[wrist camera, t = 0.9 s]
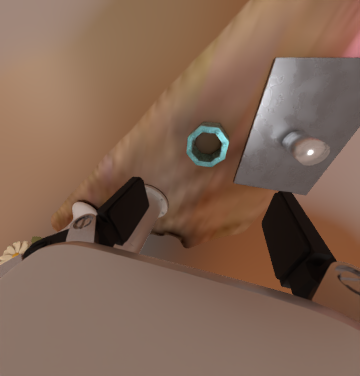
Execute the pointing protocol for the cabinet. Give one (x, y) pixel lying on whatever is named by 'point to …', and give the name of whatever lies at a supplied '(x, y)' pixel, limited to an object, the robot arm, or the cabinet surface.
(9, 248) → the flower in vase
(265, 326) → the robot arm
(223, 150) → the ring
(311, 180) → the metal plate with knob
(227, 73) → the cabinet surface
